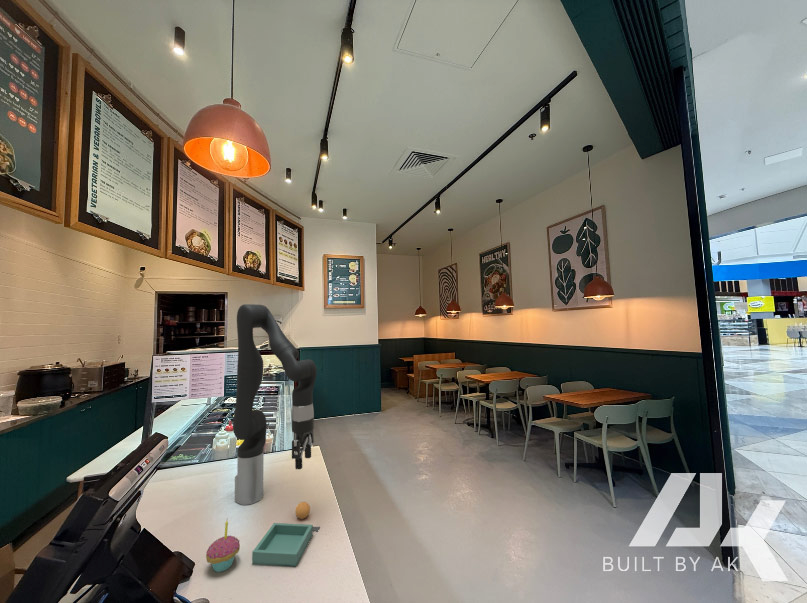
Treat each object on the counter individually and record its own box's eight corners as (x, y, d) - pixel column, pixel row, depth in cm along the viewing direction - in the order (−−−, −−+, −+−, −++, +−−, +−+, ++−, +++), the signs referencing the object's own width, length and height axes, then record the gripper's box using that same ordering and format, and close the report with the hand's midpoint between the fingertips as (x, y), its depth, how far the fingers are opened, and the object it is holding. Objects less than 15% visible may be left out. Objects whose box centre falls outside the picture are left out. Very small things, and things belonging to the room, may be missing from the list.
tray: (252, 564, 94) (252, 551, 94) (274, 533, 107) (274, 522, 107) (296, 567, 93) (296, 554, 93) (312, 535, 106) (312, 524, 106)
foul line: (274, 529, 109) (274, 528, 109) (276, 525, 111) (276, 524, 111) (318, 531, 108) (317, 530, 108) (320, 527, 110) (320, 526, 110)
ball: (292, 521, 113) (292, 506, 113) (298, 512, 118) (298, 498, 118) (306, 522, 113) (306, 507, 113) (312, 513, 117) (312, 499, 118)
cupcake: (215, 555, 97) (215, 514, 98) (244, 553, 98) (245, 512, 99) (199, 579, 89) (200, 533, 89) (232, 576, 90) (232, 531, 90)
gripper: (300, 411, 124) (301, 454, 123) (283, 423, 110) (284, 472, 109) (319, 410, 124) (320, 454, 123) (305, 423, 109) (306, 473, 109)
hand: (303, 463), depth 116 cm, fingers open, 8 cm apart
